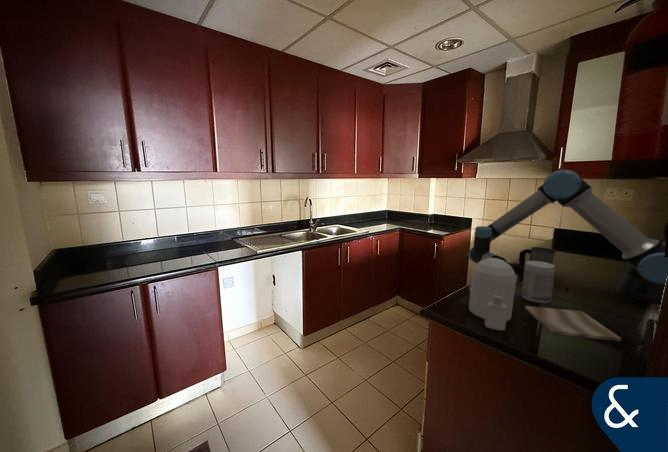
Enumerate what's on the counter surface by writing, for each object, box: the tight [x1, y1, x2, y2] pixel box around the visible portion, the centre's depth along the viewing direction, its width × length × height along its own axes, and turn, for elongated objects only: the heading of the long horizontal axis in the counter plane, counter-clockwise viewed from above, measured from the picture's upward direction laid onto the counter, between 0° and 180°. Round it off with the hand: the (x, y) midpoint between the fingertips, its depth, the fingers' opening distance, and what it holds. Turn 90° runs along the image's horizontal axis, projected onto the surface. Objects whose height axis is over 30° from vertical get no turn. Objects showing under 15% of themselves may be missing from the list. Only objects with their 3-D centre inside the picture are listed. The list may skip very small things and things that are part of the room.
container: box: [468, 258, 517, 322], centre depth 94 cm, size 14×13×20 cm
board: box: [524, 305, 622, 342], centre depth 89 cm, size 18×17×1 cm
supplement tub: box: [521, 260, 556, 304], centre depth 106 cm, size 10×10×15 cm
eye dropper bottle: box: [484, 292, 507, 331], centre depth 85 cm, size 4×6×12 cm
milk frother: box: [515, 246, 556, 282], centre depth 128 cm, size 14×16×15 cm
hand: (531, 278), depth 108 cm, fingers open, 13 cm apart
